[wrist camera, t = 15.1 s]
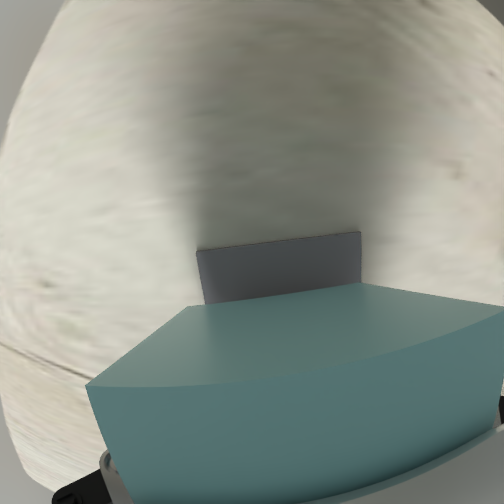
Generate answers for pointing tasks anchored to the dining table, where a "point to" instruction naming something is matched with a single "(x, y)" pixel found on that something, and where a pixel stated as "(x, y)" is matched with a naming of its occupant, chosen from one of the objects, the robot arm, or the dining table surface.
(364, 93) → the dining table surface
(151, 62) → the dining table surface
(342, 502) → the robot arm
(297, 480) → the light teal cube-like block
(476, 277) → the dining table surface
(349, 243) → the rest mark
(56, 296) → the dining table surface
